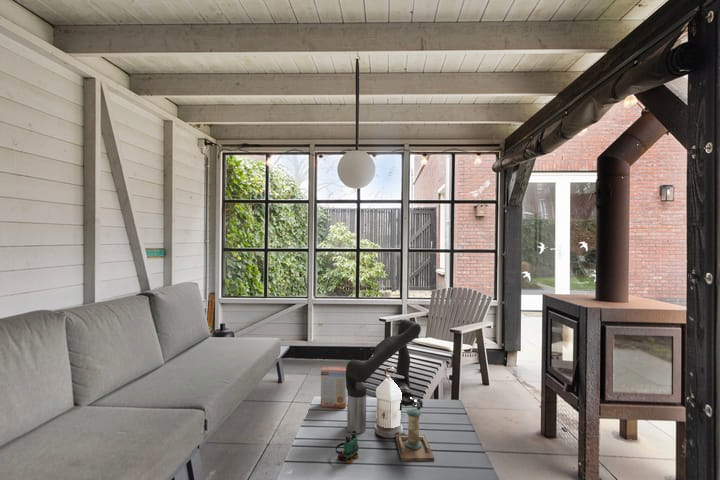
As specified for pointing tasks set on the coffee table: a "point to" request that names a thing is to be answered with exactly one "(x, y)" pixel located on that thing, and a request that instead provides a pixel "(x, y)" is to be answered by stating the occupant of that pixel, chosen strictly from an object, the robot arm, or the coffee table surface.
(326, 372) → the cracker box
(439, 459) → the coffee table surface
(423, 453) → the brown wooden tray
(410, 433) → the bobbin
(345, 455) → the binoculars
